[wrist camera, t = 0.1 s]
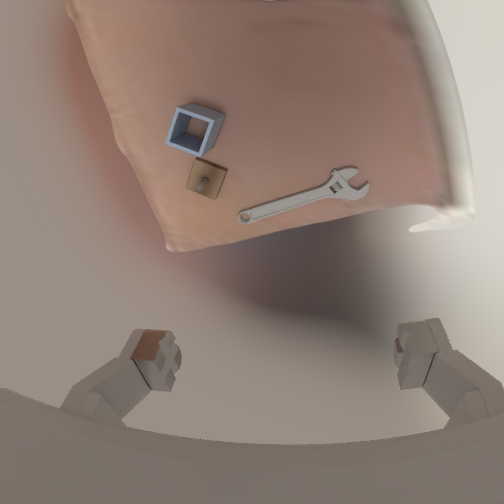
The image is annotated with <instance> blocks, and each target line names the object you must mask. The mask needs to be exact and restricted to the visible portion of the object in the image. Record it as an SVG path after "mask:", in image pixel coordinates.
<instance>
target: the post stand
mask: <svg viewBox="0 0 504 504" xmlns="http://www.w3.org/2000/svg"><path fill="white" fill-rule="evenodd" d="M227 170H228V169H226V168H223V167H221V166H218V165H216V164H213V163H211V162H208V161H206V160H203V159H201V158H196V159H195V162H194V165H193V168H192V171H191V174H190V177H189V180H188V183H187V186H186V188H187V189H189V190H192V191H194V192H197V193H199V194H202V195H204V196H207V197H209V198H211V199H214V200H215V199H216V198H217V196H218V193H219V191H220V188H221V185H222V183H223V180H224V178H225V175H226V173H227Z"/></svg>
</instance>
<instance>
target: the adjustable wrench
mask: <svg viewBox="0 0 504 504" xmlns="http://www.w3.org/2000/svg"><path fill="white" fill-rule="evenodd" d="M358 172H359V170H358V169H357V168H356V167H343V168H340V169H337V170H336V169H335V168H334V170H333V171H331V172H330V174H331V175H332V176H331V177H330V178H329V180H328V181H327V182H326V183H324V184H323V185H321V186H318V187H315V188H312V189H308V190H305V191H302V192H298V193H295V194H292V195H289V196H285V197H282V198H279V199H276V200H273V201H270V202H266V203H263V204H260V205H257V206H254V207H251V208H248V209H245V210H242V211H241V212H240V213H239V215H238V220H239V222H240V223H242V224H249V223H252V222H255V221H258V220H261V219H264V218H267V217H269V216H272V215H275V214H278V213H281V212H284V211H287V210H290V209H293V208H296V207H299V206H302V205H306V204H309V203H312V202H315V201H318V200H321V199H325V198H341V199H347V200H358V199H361V198H362V197H364V196H365V195H366V193H367V192H368V190H369V186H370V185H369V183H368V181H367V182H365V183H364V184H363V185H362V186H360V187H359V188H355V187H352V186H350V185H349V184H348V179H351V178H352V177H353V176H354V175H355V174H357V173H358ZM330 186H331V188H332V187H333V188H332V189H334V192H333V190H332V189H331V188H330ZM242 213H247V214H249V216H250V218H249V219H248V220H243V219H242V218H241V215H242Z"/></svg>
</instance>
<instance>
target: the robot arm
mask: <svg viewBox="0 0 504 504" xmlns="http://www.w3.org/2000/svg"><path fill="white" fill-rule="evenodd" d="M265 1H276V0H265ZM397 334H398V337H397V338H396V339H395V342H394V361H395V365H396V366H397V367H398V368H399V371H398V380H399V385H400V389H401V390H402V389H411V388H419V387H423V389H424V390H425V391H426V392H427V393H428V395H429V396H431V398H432V399H433V400H434V401H435V402H436V403H437V404H438V405H439V406H440V407H441V409H442V410H443V411H444V412H445V413H446V414H447V415H448V416H449V417H450V420H449V421H448V423H447V424H446V426H445V427H444V429H440V430H435V431H430V432H425V433H419V434H414V435H408V436H401V437H395V438H388V439H379V440H370V441H360V442H348V443H333V444H307V445H275V444H272V445H271V444H248V443H233V442H220V441H211V440H201V439H194V438H186V437H179V436H173V435H167V434H160V433H155V432H150V431H144V430H139V429H134V428H130V427H127V426H126V425H125V424H124V423H123V422H122V420H121V419H122V418H123V417H124V416H125V415H126V414H128V413H129V412H130V411H131V410H132V409H133V408H134V407H135V406H136V405H137V404H138V403H139V402H140V401H141V400H142V399H144V398H145V397H146V396H147V395H148V394H149V393H150V392H151V390H156V391H166V392H171V389H172V387H173V384H174V381H175V376H174V373H175V372H176V371H178V370H179V368H180V365H181V358H182V357H181V351H180V348H179V346H178V345H176V344H175V343H174V340H175V337H174V334H173V332H171V331H164V330H149V329H147V330H146V329H135V330H134V331H133V332H132V334H131V336H130V338H129V339H128V341H127V343H126V345H125V346H124V348H123V350H122V352H121V353H120V356H119V357H118V358H114V359H112V360H111V361H109V362H108V363H106V364H105V365H103V366H102V367H100V368H99V369H98V370H96V371H94V372H93V373H91V374H90V375H88V376H87V377H85V378H84V379H83V380H81V381H80V382H78V383H76V384H75V385H74V386H72V388H71V390H70V392H69V393H68V395H67V397H66V398H65V400H64V402H63V404H62V405H61V407H60V408H57V407H53V406H51V405H48V404H45V403H42V402H40V401H37V400H34V399H32V398H29V397H26V396H23V395H21V394H19V393H16V392H14V391H12V390H9V389H7V388H0V504H504V389H503V387H502V384H501V382H499V381H498V380H497V379H495V378H494V377H493V376H491V375H490V374H489V373H487V372H486V371H485V370H483V369H482V368H481V367H479V366H478V365H477V364H475V363H474V362H473V361H471V360H469V359H468V358H467V357H466V356H464V355H463V354H461V353H460V352H459V351H458V350H453V349H452V346H451V344H450V342H449V339H448V337H447V334H446V332H445V330H444V328H443V325H442V323H441V321H440V319H439V318H432V319H425V320H418V321H409V322H401V323H399V324H398V327H397Z"/></svg>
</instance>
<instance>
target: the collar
mask: <svg viewBox="0 0 504 504" xmlns="http://www.w3.org/2000/svg"><path fill="white" fill-rule="evenodd" d="M191 116H193V117H195V118H198V119H201V120H204V121H207V122H209V126H208V128H207V131H206V134H205V136H204V139H200V138H197V137H195V136H192V135H189V134H187V133H186V130H187V127H188V124H189V121H190V118H191ZM224 118H225V114H222V113H220V112H217V111H214V110H211V109H209V108H206V107H203V106H200V105H197V104H194V103H190V104H186V105H183V106H179V107H177V108H176V111H175V114H174V117H173V120H172V123H171V126H170V129H169V132H168V136H167V139H166V142H165V144H166V145H169V146H172V147H175V148H177V149H180V150H183V151H185V152H188V153H190V154H193V155H196V156H198V157H202V156H203V155H204V154H206V153H207V152H208V151H209V150H210V149H211V148H213V146H214V144H215V141H216V138H217V136H218V133H219V131H220V128H221V125H222V123H223V120H224Z"/></svg>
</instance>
